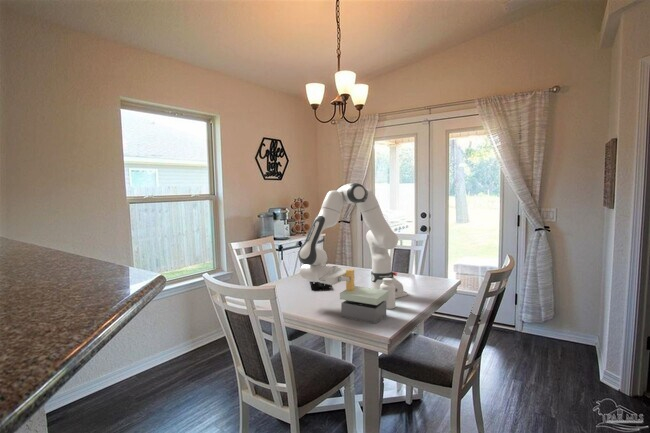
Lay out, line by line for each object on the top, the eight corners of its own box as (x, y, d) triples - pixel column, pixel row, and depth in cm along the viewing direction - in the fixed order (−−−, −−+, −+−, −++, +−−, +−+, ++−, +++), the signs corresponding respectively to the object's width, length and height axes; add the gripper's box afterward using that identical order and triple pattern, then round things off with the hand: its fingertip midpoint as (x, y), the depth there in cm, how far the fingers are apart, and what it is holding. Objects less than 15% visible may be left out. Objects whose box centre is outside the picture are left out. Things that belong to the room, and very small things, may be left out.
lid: (388, 296, 174) (388, 270, 173) (377, 305, 162) (376, 277, 161) (353, 291, 184) (352, 266, 183) (339, 299, 172) (339, 272, 171)
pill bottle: (393, 304, 191) (393, 276, 190) (396, 309, 183) (396, 280, 182) (378, 304, 191) (378, 277, 190) (381, 309, 183) (381, 280, 182)
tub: (386, 315, 175) (386, 301, 174) (375, 323, 163) (375, 308, 163) (353, 309, 184) (353, 296, 183) (341, 317, 173) (341, 302, 172)
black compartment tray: (324, 278, 250) (324, 273, 250) (339, 289, 222) (339, 284, 222) (300, 281, 245) (300, 275, 245) (312, 292, 216) (312, 286, 216)
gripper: (316, 273, 174) (341, 276, 167) (337, 265, 191) (360, 267, 184) (317, 286, 174) (341, 289, 167) (337, 276, 192) (360, 279, 185)
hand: (351, 278), depth 176 cm, fingers closed on lid, 3 cm apart
